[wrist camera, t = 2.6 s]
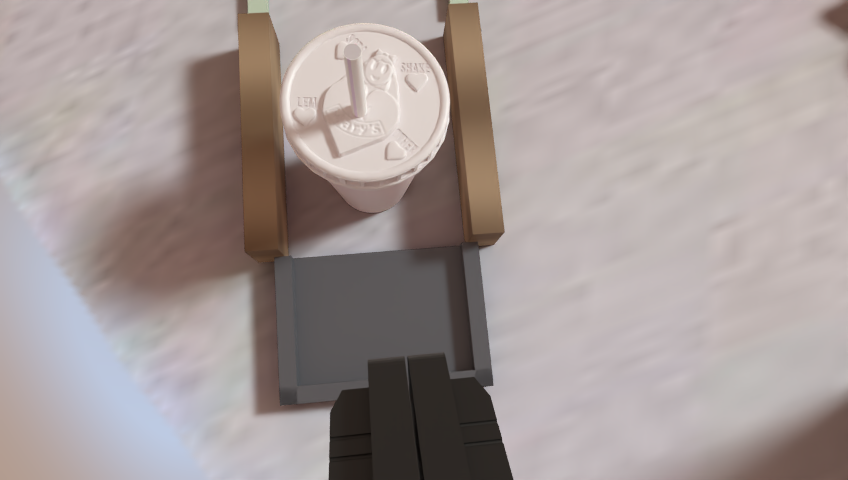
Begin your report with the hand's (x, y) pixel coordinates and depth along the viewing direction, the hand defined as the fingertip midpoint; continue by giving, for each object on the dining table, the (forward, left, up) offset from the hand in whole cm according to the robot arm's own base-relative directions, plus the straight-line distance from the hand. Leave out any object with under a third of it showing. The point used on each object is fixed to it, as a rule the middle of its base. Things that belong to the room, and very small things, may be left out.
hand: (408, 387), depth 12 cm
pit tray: (+3, 0, -18) cm, 18 cm away
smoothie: (+10, -3, -18) cm, 21 cm away
